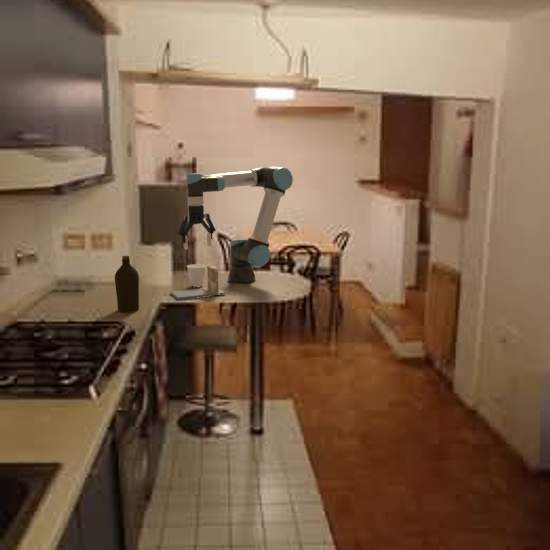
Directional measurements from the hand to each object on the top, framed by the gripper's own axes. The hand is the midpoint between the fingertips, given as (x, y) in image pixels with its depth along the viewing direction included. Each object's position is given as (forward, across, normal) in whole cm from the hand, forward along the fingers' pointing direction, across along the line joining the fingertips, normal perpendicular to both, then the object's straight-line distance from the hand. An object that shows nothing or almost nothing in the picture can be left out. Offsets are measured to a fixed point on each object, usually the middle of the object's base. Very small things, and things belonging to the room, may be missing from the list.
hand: (197, 247), depth 308 cm
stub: (+24, -5, +4) cm, 24 cm away
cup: (+24, -7, -14) cm, 28 cm away
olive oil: (+23, +42, +7) cm, 49 cm away
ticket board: (+23, +6, +1) cm, 24 cm away
